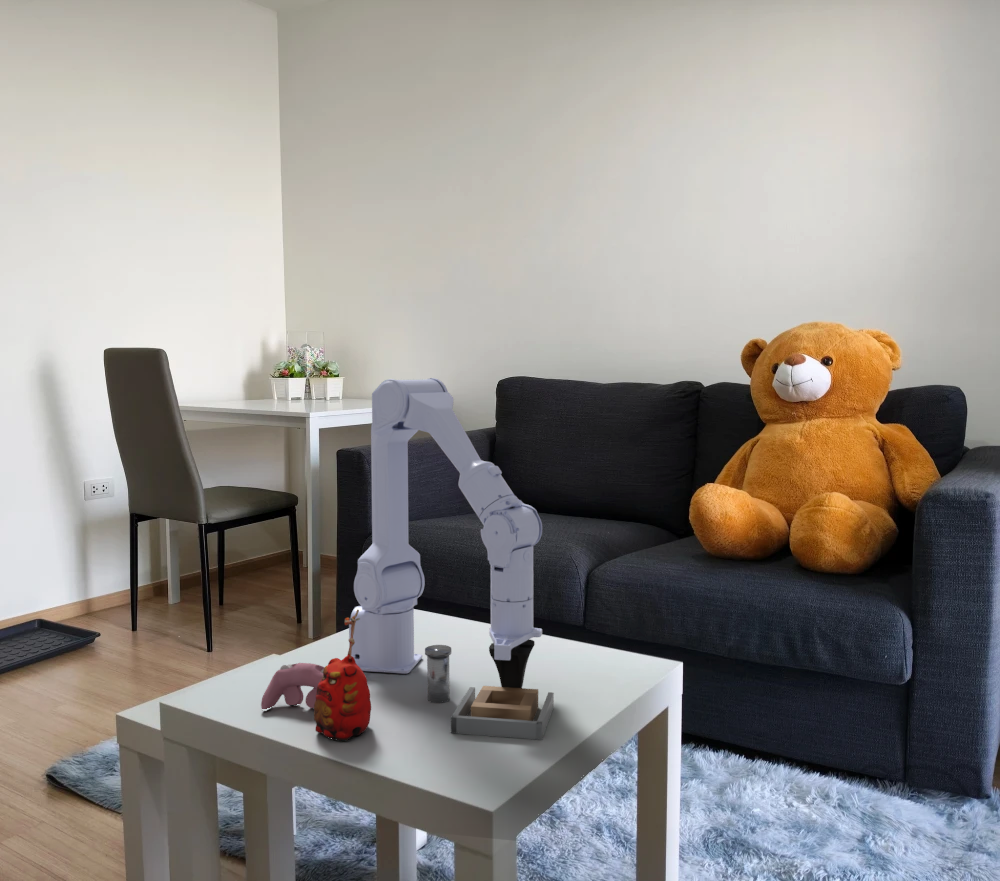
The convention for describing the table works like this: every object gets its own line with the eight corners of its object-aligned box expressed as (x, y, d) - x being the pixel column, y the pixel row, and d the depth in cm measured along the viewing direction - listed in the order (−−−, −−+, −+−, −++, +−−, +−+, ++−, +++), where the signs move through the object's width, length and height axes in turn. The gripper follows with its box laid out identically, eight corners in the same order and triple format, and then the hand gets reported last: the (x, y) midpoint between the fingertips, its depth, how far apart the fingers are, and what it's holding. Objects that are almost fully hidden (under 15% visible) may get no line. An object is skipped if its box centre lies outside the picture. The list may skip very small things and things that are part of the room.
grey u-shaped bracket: (451, 732, 112) (450, 717, 112) (470, 701, 122) (470, 687, 122) (541, 739, 110) (541, 723, 109) (553, 707, 120) (553, 692, 120)
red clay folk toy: (302, 730, 113) (300, 613, 111) (348, 715, 118) (346, 602, 116) (339, 748, 107) (336, 625, 106) (385, 731, 112) (383, 613, 111)
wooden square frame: (471, 725, 114) (470, 706, 114) (483, 703, 121) (483, 685, 121) (529, 729, 113) (529, 710, 112) (538, 707, 120) (538, 689, 120)
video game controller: (338, 722, 119) (348, 668, 122) (323, 719, 115) (333, 663, 118) (272, 714, 122) (283, 661, 125) (255, 710, 118) (267, 656, 121)
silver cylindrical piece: (422, 702, 122) (421, 652, 121) (430, 693, 125) (429, 644, 125) (447, 704, 121) (447, 653, 121) (454, 695, 125) (454, 645, 124)
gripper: (533, 612, 113) (533, 718, 114) (549, 585, 127) (548, 679, 128) (478, 610, 114) (478, 714, 115) (499, 583, 128) (500, 676, 129)
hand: (512, 695), depth 122 cm, fingers closed
